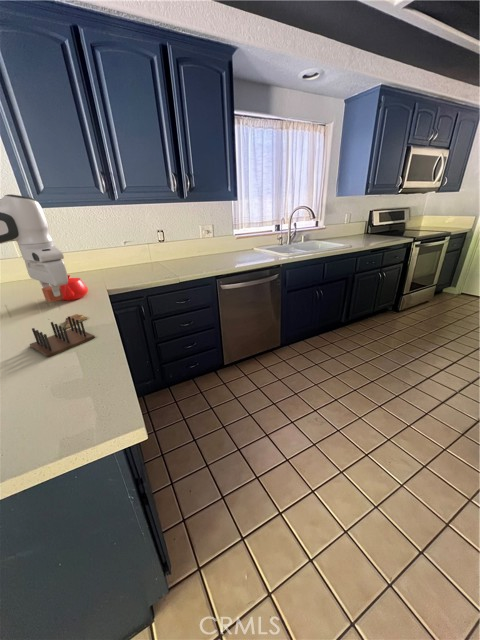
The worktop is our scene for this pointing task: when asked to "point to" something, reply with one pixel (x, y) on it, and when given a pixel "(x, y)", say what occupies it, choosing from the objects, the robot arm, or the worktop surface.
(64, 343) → the dish rack
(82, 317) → the shard
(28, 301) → the worktop surface
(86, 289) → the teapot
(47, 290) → the block
